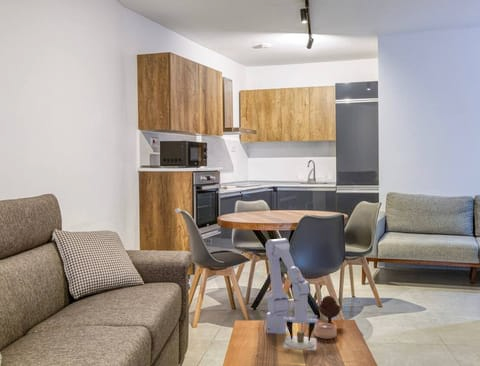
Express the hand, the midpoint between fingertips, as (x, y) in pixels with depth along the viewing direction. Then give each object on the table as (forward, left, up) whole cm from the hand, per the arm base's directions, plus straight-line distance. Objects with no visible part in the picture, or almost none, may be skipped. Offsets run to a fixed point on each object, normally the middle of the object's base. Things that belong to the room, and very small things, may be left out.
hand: (300, 339), depth 219 cm
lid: (0, 0, -2) cm, 2 cm away
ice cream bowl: (+13, +27, -2) cm, 30 cm away
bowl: (+11, +11, -2) cm, 16 cm away
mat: (0, 0, -2) cm, 2 cm away
